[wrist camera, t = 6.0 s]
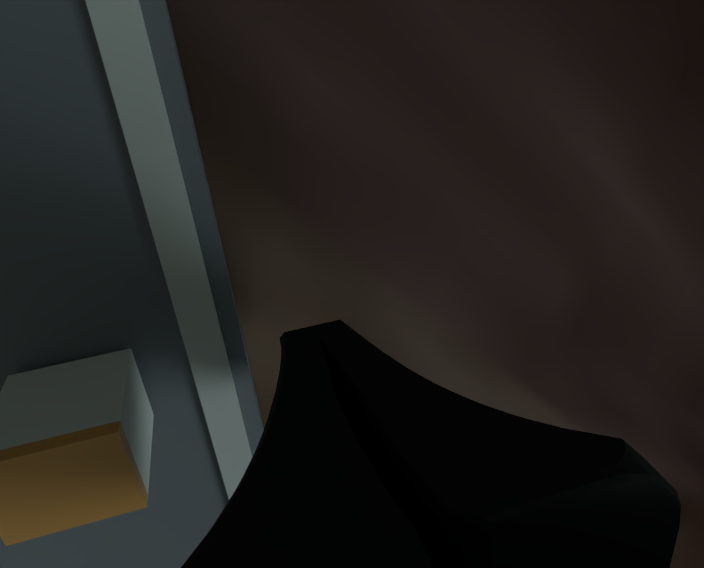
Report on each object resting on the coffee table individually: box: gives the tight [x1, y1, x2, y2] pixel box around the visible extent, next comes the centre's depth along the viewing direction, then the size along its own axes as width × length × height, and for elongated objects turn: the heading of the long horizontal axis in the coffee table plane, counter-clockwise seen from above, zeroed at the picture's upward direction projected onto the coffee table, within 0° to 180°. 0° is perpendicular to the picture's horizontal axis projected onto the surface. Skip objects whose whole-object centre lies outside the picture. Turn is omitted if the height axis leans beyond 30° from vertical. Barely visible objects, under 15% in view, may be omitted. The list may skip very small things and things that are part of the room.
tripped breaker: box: [0, 348, 154, 546], centre depth 11 cm, size 2×2×3 cm
